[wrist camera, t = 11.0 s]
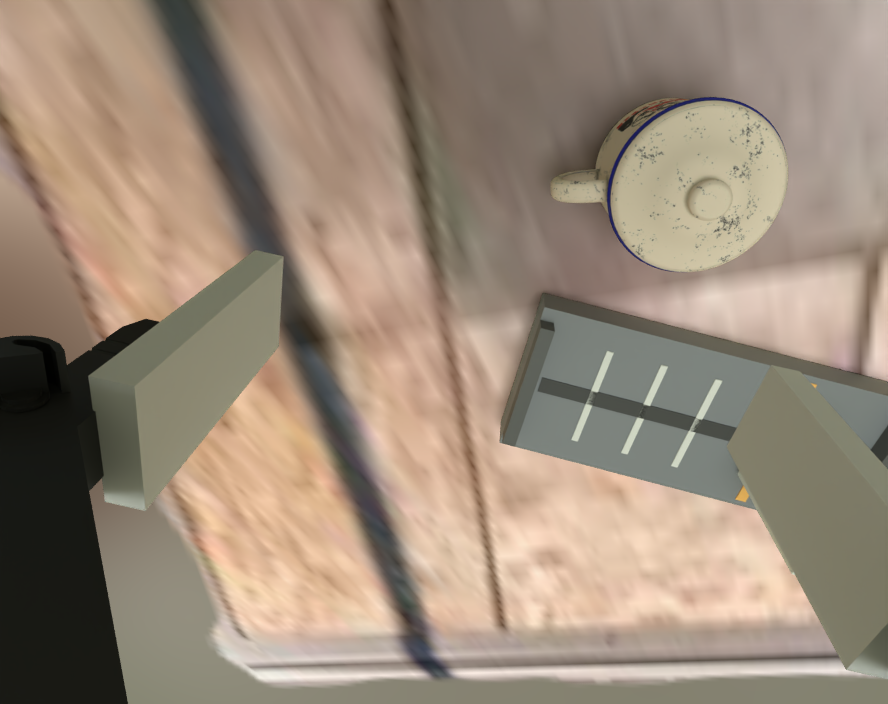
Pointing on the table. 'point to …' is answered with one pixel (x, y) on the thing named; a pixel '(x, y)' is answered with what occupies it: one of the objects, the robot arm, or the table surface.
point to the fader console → (658, 398)
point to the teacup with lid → (686, 181)
